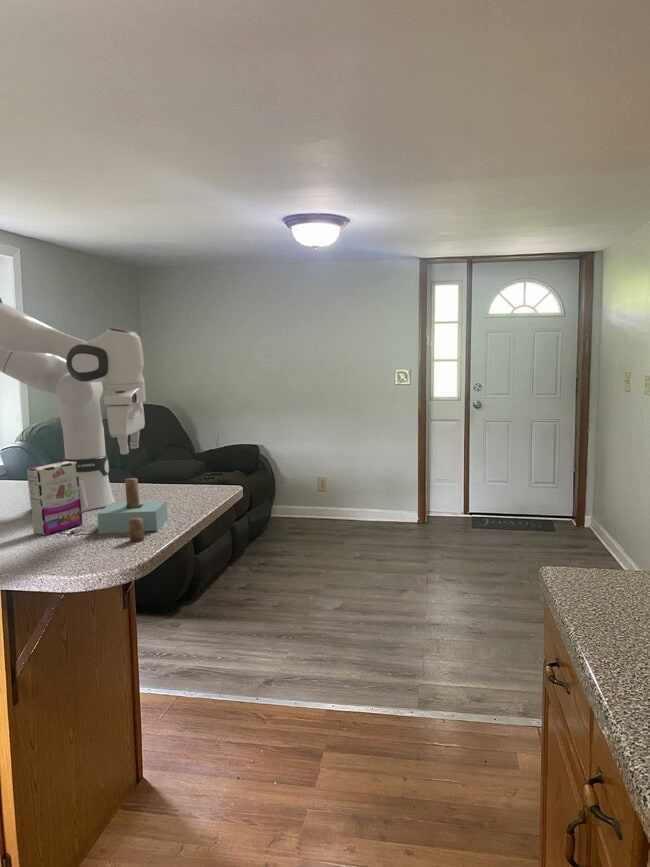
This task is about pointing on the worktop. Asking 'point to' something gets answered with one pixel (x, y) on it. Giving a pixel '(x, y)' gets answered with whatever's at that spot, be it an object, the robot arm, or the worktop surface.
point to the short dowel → (136, 529)
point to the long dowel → (132, 493)
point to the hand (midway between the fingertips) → (129, 451)
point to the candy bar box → (54, 497)
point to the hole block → (132, 516)
